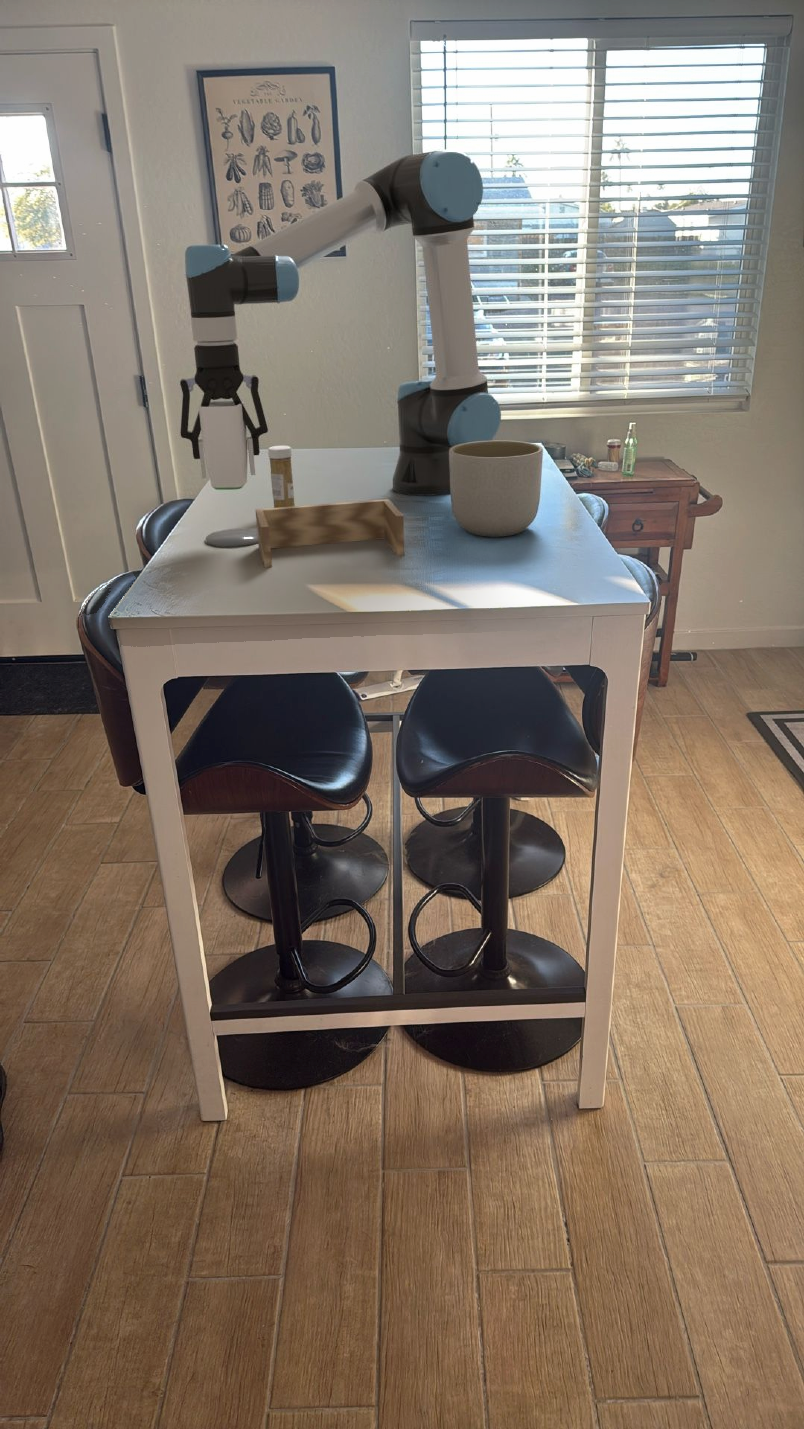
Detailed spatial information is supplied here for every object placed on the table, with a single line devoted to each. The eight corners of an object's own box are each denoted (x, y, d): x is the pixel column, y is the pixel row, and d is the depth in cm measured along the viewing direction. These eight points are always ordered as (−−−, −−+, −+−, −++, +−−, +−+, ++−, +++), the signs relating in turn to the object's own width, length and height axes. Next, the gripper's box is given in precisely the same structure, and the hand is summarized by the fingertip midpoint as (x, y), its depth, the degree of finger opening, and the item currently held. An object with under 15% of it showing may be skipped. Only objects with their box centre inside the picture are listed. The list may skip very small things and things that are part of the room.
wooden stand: (389, 536, 186) (388, 499, 183) (404, 555, 174) (403, 515, 171) (258, 547, 181) (255, 509, 178) (264, 567, 170) (261, 527, 167)
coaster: (262, 529, 193) (262, 526, 192) (267, 544, 183) (267, 541, 183) (205, 534, 191) (204, 531, 190) (207, 549, 181) (206, 546, 181)
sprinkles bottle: (299, 514, 203) (294, 447, 197) (279, 517, 201) (274, 450, 195) (289, 509, 207) (284, 443, 201) (269, 513, 204) (264, 446, 199)
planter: (548, 522, 192) (551, 441, 185) (529, 545, 177) (531, 459, 171) (463, 517, 197) (463, 438, 191) (438, 539, 183) (437, 455, 176)
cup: (205, 492, 180) (196, 407, 173) (215, 483, 186) (206, 401, 180) (245, 491, 179) (237, 406, 173) (253, 483, 186) (245, 400, 179)
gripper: (274, 338, 177) (283, 467, 187) (154, 343, 173) (170, 475, 183) (278, 342, 171) (287, 475, 180) (153, 347, 167) (170, 483, 176)
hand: (228, 475), depth 182 cm, fingers closed on cup, 8 cm apart
